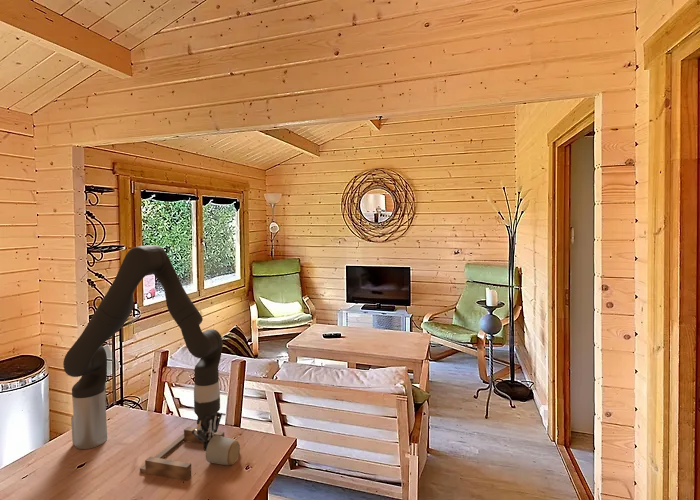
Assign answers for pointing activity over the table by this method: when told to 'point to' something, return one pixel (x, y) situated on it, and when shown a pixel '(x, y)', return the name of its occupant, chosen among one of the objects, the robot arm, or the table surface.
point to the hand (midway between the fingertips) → (208, 450)
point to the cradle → (171, 467)
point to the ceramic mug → (222, 450)
